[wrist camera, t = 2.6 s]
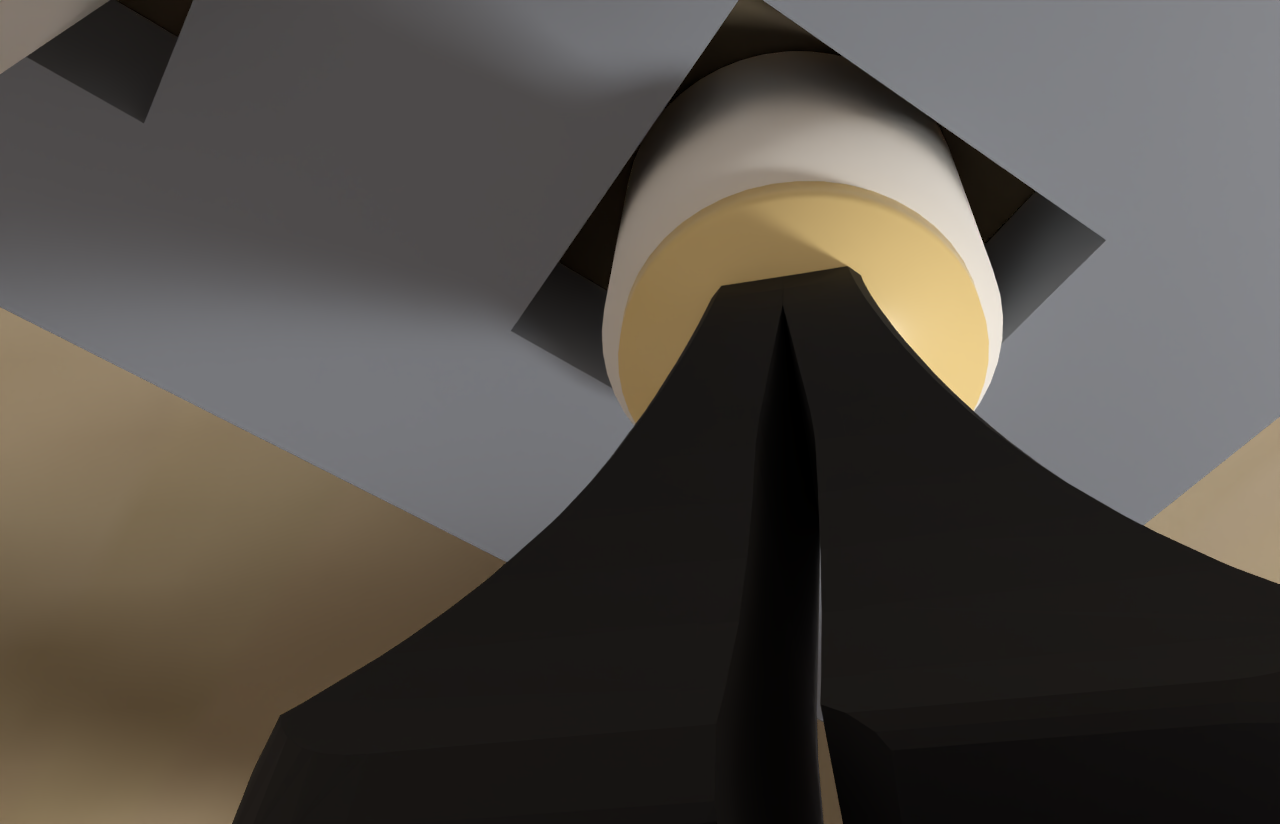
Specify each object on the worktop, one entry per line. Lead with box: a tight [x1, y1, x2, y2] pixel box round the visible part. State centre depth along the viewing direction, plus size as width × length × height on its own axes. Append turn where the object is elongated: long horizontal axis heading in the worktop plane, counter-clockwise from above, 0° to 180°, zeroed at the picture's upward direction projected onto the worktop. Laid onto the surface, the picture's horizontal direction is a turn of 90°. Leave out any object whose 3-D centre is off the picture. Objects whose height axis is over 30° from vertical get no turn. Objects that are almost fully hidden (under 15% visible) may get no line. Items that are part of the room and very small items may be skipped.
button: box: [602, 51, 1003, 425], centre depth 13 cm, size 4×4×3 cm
